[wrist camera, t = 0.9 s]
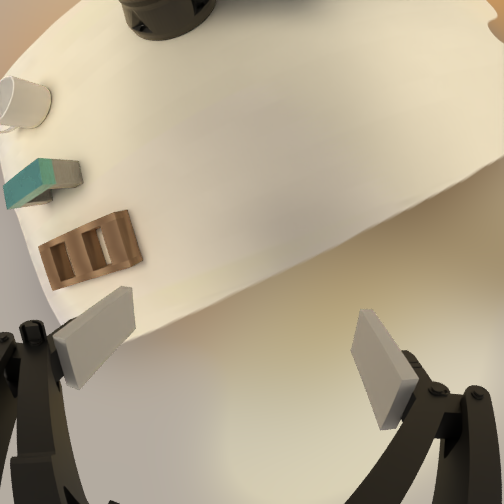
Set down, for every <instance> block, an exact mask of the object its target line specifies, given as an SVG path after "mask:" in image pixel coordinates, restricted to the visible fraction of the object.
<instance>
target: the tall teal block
mask: <svg viewBox="0 0 504 504" xmlns="http://www.w3.org/2000/svg"><path fill="white" fill-rule="evenodd" d="M81 184H83V179H82V175H81V170H80V165H79V161H73V160H60V159H44V158H38V159H36V160H35V161H34V162H32V163H31V164H30V165H28V166H27V167H26V168H24V169H23V170H22V171H20V172H19V173H18V174H17V175H15V176H14V177H13V178H12V179H11V180H9V181H8V182H7V183H6V184H5V185H4V186H3V189H4V195H5V200H6V206H7V209H14V208H21V207H27V206H34V205H42V204H47V203H49V202H50V201H52V200H53V199H52V194H51V189H58V188H75V187H77V186H79V185H81Z"/></svg>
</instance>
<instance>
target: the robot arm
mask: <svg viewBox="0 0 504 504" xmlns="http://www.w3.org/2000/svg"><path fill="white" fill-rule="evenodd" d="M119 1H120V2H121V3H122V7H123V11H124V14H125V18H126V22H127V24H128V26H129V27H130V28H131V29H132V30H133V31H134V32H135V33H136V34H137V35H138V36H140V37H142V38H144V39H148V40H165V39H170V38H174V37H177V36H180V35H182V34H184V33H186V32H188V31H190V30H192V29H194V28H195V27H197V26H198V25H199V24H200V23H202V22H203V21H204V20H205V19H206V18H207V17H208V16H209V14H210V13H211V12H212V10H213V8H214V6H215V3H216V0H119ZM19 329H20V333H21V337H22V340H23V343H16V342H15V339H14V336H13V334H12V333H9V332H2V333H0V485H1V479H2V474H3V469H4V464H5V459H6V455H7V451H8V446H9V442H10V439H11V435H12V431H13V428H14V424H15V420H16V418H17V453H18V455H17V457H12V458H11V460H10V469H11V481H12V490H13V497H14V504H89V503H88V501H87V499H86V497H85V494H84V491H83V488H82V485H81V482H80V479H79V474H78V471H77V467H76V464H75V459H74V455H73V451H72V447H71V442H70V437H69V432H68V427H67V421H66V416H65V410H64V402H63V395H62V386H61V383H60V379H61V378H62V377H63V376H64V378H65V381H66V384H67V386H70V387H72V388H75V389H77V390H80V389H81V388H82V387H83V386H84V384H85V383H86V382H87V381H88V380H89V379H90V378H91V377H92V375H93V374H94V373H95V372H96V371H97V370H98V369H99V368H100V367H101V366H102V365H103V363H104V362H105V361H106V360H107V359H108V358H109V357H110V356H111V355H112V353H114V352H115V350H116V349H117V348H118V347H119V346H120V345H121V344H122V343H123V342H124V341H125V340H126V339H127V338H128V337H129V335H130V334H131V333H132V332H133V331H134V330H135V329H136V326H135V316H134V306H133V294H132V288H131V287H124V286H121V287H119V288H118V289H116V290H115V291H113V292H112V293H110V294H109V295H108V296H106V297H105V298H103V299H102V300H101V301H99V302H98V303H96V304H95V305H93V306H92V307H91V308H89V309H88V310H86V311H85V312H84V313H82V314H81V315H79V316H78V317H75V318H73V319H70V320H69V321H67V322H66V323H65V324H64V325H62V326H60V327H59V328H58V329H56V330H55V331H54V332H52V333H51V334H49V335H48V336H46V332H45V327H44V324H43V322H42V321H39V320H30V321H26V322H24V323H22V324H21V325H20V327H19ZM351 353H352V355H353V358H354V360H355V363H356V366H357V368H358V371H359V373H360V376H361V379H362V381H363V384H364V387H365V389H366V392H367V395H368V398H369V400H370V403H371V405H372V408H373V411H374V414H375V417H376V420H377V423H378V426H379V428H380V430H388V429H396V428H397V426H398V424H399V422H400V420H402V422H403V423H402V425H401V426H400V428H399V430H398V431H397V433H396V435H395V436H394V438H393V439H392V441H391V443H390V444H389V445H388V447H387V449H386V450H385V452H384V453H383V454H382V456H381V457H380V459H379V460H378V462H377V463H376V464H375V466H374V467H373V469H372V470H371V471H370V473H369V474H368V475H367V477H366V478H365V479H364V480H363V482H362V483H361V484H360V485H359V487H358V488H357V489H356V490H355V492H354V493H353V494H352V495H351V496H350V498H349V499H348V500H347V501H346V502H345V504H400V503H401V502H402V500H403V498H404V497H405V495H406V493H407V491H408V490H409V488H410V486H411V484H412V483H413V480H414V479H415V477H416V475H417V473H418V471H419V469H420V467H421V465H422V463H423V461H424V459H425V457H426V455H427V453H428V451H429V448H430V446H431V444H432V442H433V439H434V438H437V439H440V451H439V461H438V470H437V477H436V484H435V491H434V496H433V501H432V504H502V482H501V465H500V454H499V444H498V436H497V430H496V423H495V417H494V412H493V407H492V402H491V397H490V394H489V392H488V391H487V390H486V389H485V388H483V387H481V386H477V385H476V386H475V385H472V386H469V387H468V388H467V389H466V390H465V392H464V394H463V395H460V394H450V391H449V389H448V388H447V387H446V386H445V385H443V384H441V383H439V382H432V380H431V379H430V377H429V376H428V374H427V373H426V371H425V370H424V369H423V368H422V366H421V364H420V363H419V362H418V360H417V359H416V357H415V356H414V355H413V354H412V353H410V352H409V351H407V350H404V351H403V350H400V348H399V347H398V346H397V344H396V342H395V341H394V339H393V338H392V337H391V335H390V334H389V332H388V331H387V329H386V328H385V326H384V325H383V324H382V322H381V321H380V319H379V318H378V316H377V315H376V313H375V312H374V311H373V310H371V309H360V313H359V318H358V322H357V327H356V331H355V335H354V340H353V344H352V348H351ZM108 504H119V503H117V502H114V501H111V500H110V501H109V503H108Z"/></svg>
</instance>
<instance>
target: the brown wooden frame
mask: <svg viewBox="0 0 504 504" xmlns="http://www.w3.org/2000/svg"><path fill="white" fill-rule="evenodd" d="M98 228H101V230H102V234H103V237H104V240H105V244H106V247H107V250H108V253H109V256H110V259H111V262H112V263H111V264H108V265H106V262H105V259H104V256H103V253H102V250H101V246H100V243H99V240H98V237H97V233H96V229H98ZM64 243H65V245H66V248H67V251H68V254H69V258H70V261H71V264H72V267H73V270H74V273H75V275H74V273H73V270H72V267H71V264H70V261H69V258H68V255H67V251H66V248H65V245H64ZM38 248H39V251H40V255H41V258H42V261H43V264H44V267H45V270H46V273H47V276H48V279H49V282H50V285H51V288H52V290H53V291H54V290H57V289H60V288H63V287H67V286H70V285H73V284H76V283H80V282H83V281H86V280H89V279H93V278H96V277H99V276H103V275H106V274H109V273H112V272H116V271H119V270H123V269H126V268H129V267H132V266H134V265H135V264H137V263H139V262H141V261H143V259H142V256H141V253H140V250H139V247H138V244H137V240H136V237H135V234H134V231H133V227H132V224H131V221H130V217H129V214H128V210H124V211H119V212H113V213H111V214H109V215H106V216H104V217H101V218H99V219H97V220H94V221H92V222H90V223H88V224H85V225H83V226H81V227H79V228H76V229H74V230H72V231H70V232H68V233H65V234H63V235H61V236H59V237H57V238H55V239H53V240H51V241H48V242H46V243H44V244H42V245H40V246H38Z"/></svg>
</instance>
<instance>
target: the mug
mask: <svg viewBox="0 0 504 504" xmlns="http://www.w3.org/2000/svg"><path fill="white" fill-rule="evenodd" d="M50 105H51V94H50V91H49V90H48V89H47V88H46V87H44V86H41V85H38V84H35V83H32V82H29V81H26V80H23V79H20V78H16V77H13V76H6V77H4V78H3V79H1V80H0V125H7V126H11V127H10V128H9V129H7V130H5V131H0V133H8V132H11V131H13V130H15V129H16V128H18V127H21V128H29V129H30V128H35V127H37V126H38V125H40V124H41V123H42V122H43V120H44V119H45V117H46V116H47V114H48V111H49V108H50Z"/></svg>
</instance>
